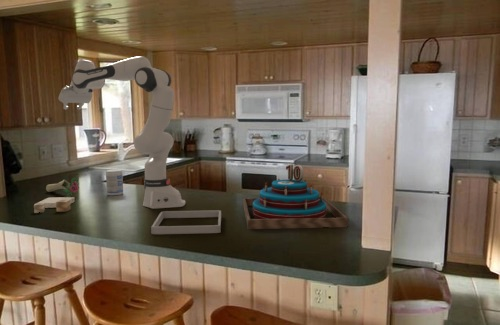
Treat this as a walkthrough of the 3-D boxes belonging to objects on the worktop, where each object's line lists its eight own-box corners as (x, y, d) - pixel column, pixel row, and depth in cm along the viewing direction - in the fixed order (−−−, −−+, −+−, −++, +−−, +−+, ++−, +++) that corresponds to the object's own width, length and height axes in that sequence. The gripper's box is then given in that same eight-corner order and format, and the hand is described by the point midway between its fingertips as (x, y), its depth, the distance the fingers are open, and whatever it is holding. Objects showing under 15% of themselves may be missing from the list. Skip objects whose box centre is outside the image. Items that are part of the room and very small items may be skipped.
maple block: (44, 210, 199) (44, 202, 199) (43, 212, 195) (42, 204, 195) (35, 211, 198) (35, 203, 197) (34, 213, 194) (33, 205, 194)
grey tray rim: (221, 216, 186) (221, 210, 186) (220, 232, 161) (220, 225, 160) (161, 217, 185) (161, 211, 184) (151, 234, 159) (150, 227, 158)
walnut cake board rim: (323, 204, 211) (323, 196, 210) (347, 227, 168) (348, 218, 168) (243, 205, 208) (243, 198, 208) (247, 229, 166) (247, 219, 165)
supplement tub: (121, 195, 235) (120, 171, 233) (105, 196, 233) (104, 171, 232) (124, 192, 244) (123, 169, 242) (108, 192, 243) (107, 169, 241)
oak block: (70, 209, 202) (70, 199, 201) (66, 211, 197) (66, 201, 196) (60, 209, 202) (60, 199, 201) (56, 211, 197) (56, 201, 196)
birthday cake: (237, 214, 191) (237, 164, 188) (288, 203, 213) (288, 159, 210) (290, 230, 164) (290, 172, 161) (341, 216, 187) (342, 165, 184)
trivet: (74, 201, 219) (74, 197, 219) (64, 207, 205) (64, 202, 205) (48, 201, 218) (48, 197, 218) (36, 207, 204) (36, 203, 204)
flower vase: (57, 202, 249) (88, 197, 229) (38, 200, 240) (68, 194, 219) (60, 184, 252) (90, 177, 232) (40, 181, 243) (70, 173, 222)
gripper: (67, 88, 211) (60, 111, 215) (96, 90, 230) (89, 111, 234) (59, 83, 213) (52, 106, 217) (88, 85, 232) (81, 107, 235)
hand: (71, 109), depth 225 cm, fingers open, 8 cm apart
